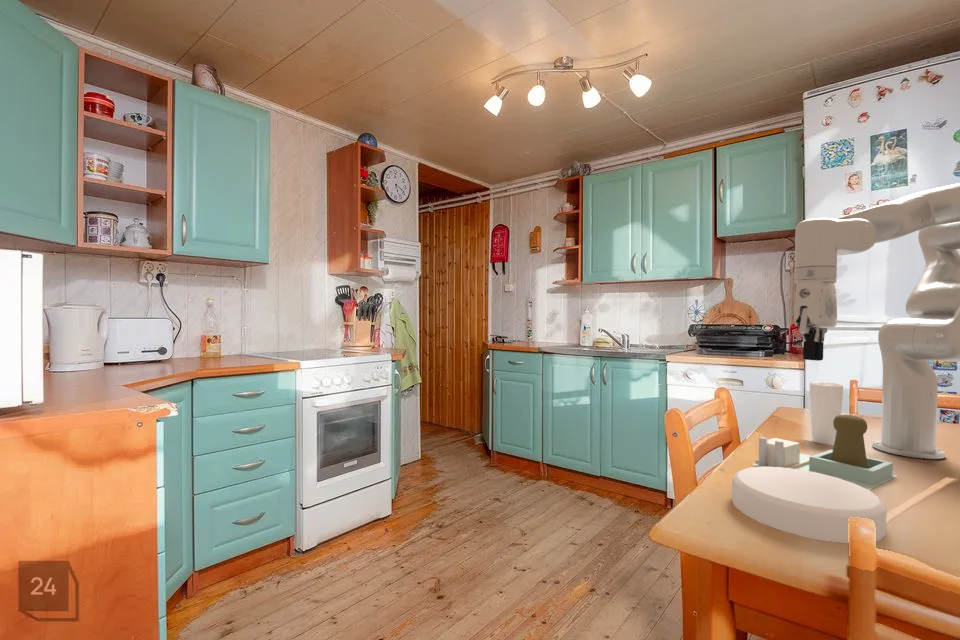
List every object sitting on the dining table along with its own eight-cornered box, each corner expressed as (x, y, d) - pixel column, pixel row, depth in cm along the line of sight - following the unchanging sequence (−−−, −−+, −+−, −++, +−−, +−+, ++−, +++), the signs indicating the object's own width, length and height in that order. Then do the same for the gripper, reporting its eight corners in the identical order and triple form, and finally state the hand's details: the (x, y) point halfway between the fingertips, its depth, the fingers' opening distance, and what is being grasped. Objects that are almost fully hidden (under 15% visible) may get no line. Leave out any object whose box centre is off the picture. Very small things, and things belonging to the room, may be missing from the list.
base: (793, 456, 103) (793, 427, 103) (897, 481, 88) (898, 447, 88) (751, 470, 94) (752, 437, 94) (860, 501, 79) (861, 461, 78)
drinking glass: (840, 443, 116) (841, 383, 115) (843, 449, 110) (845, 386, 110) (807, 439, 119) (808, 381, 119) (808, 444, 114) (810, 384, 113)
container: (905, 560, 60) (906, 524, 60) (730, 523, 70) (731, 493, 70) (868, 505, 77) (868, 478, 77) (732, 482, 87) (732, 458, 87)
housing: (775, 459, 98) (775, 437, 97) (799, 465, 94) (799, 443, 94) (760, 463, 94) (761, 441, 94) (785, 470, 90) (785, 447, 90)
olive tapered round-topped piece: (876, 478, 86) (878, 420, 86) (840, 475, 88) (841, 418, 87) (856, 468, 92) (857, 413, 92) (822, 465, 94) (824, 411, 93)
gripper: (819, 273, 94) (817, 363, 94) (849, 277, 102) (847, 360, 102) (779, 275, 100) (777, 359, 100) (810, 279, 108) (808, 357, 108)
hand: (813, 359), depth 101 cm, fingers closed
